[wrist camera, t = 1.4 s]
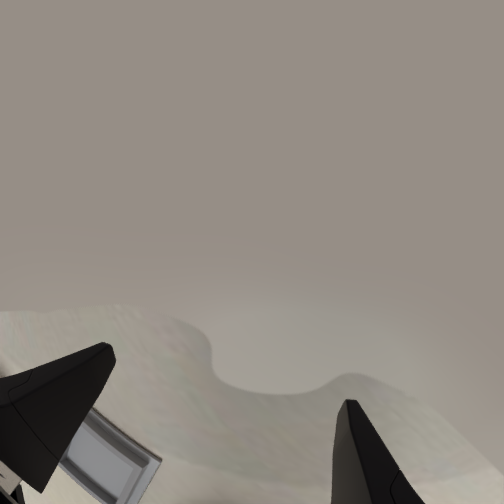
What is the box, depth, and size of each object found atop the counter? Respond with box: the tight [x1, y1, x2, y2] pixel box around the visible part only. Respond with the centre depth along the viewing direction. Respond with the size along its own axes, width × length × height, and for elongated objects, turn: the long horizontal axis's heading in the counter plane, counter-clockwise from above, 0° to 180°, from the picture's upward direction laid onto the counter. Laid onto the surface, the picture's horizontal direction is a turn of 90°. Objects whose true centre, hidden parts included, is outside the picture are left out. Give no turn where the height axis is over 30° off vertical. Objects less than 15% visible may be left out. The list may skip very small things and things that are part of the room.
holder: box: [58, 408, 162, 504], centre depth 19 cm, size 12×12×2 cm
